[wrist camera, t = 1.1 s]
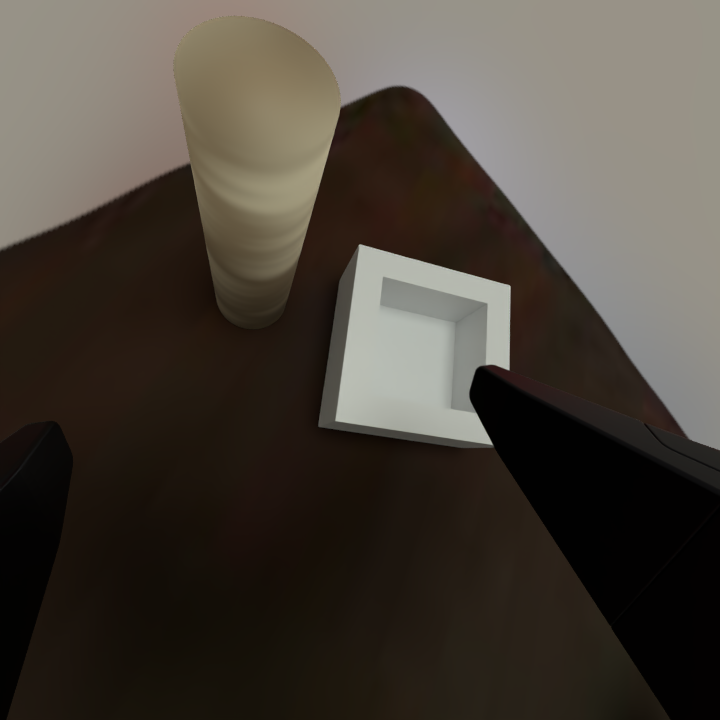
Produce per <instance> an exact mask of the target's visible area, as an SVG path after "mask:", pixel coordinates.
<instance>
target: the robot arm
mask: <svg viewBox="0 0 720 720" xmlns="http://www.w3.org/2000/svg"><path fill="white" fill-rule="evenodd" d="M469 399H470V402H471V404H472V406H473V408H474V409H475V411H476V413H477V415H478V417H479V419H480V421H481V423H482V425H483V427H484V429H485V431H486V433H487V435H488V436H489V438H490V440H491V442H492V444H493V446H494V448H495V449H496V451H497V453H498V454H499V456H500V458H501V459H502V461H503V462H504V464H505V465H506V467H507V468H508V470H509V471H510V473H511V474H512V476H513V478H514V479H515V481H516V482H517V484H518V485H519V487H520V488H521V490H522V491H523V493H524V494H525V496H526V498H527V499H528V501H529V502H530V504H531V505H532V507H533V508H534V510H535V511H536V513H537V514H538V516H539V517H540V519H541V521H542V522H543V524H544V525H545V527H546V528H547V530H548V531H549V533H550V534H551V536H552V537H553V539H554V541H555V542H556V544H557V545H558V547H559V548H560V550H561V551H562V553H563V554H564V556H565V557H566V559H567V560H568V562H569V564H570V565H571V567H572V568H573V570H574V571H575V573H576V574H577V576H578V577H579V579H580V580H581V582H582V583H583V585H584V587H585V588H586V590H587V591H588V593H589V594H590V596H591V597H592V599H593V600H594V602H595V603H596V605H597V607H598V608H599V610H600V611H601V613H602V614H603V616H604V617H605V619H606V620H607V622H608V623H609V625H610V626H611V628H612V630H613V632H614V633H615V635H616V636H617V638H618V639H619V641H620V642H621V644H622V645H623V647H624V648H625V650H626V652H627V653H628V655H629V656H630V658H631V659H632V661H633V662H634V664H635V665H636V667H637V668H638V670H639V672H640V673H641V675H642V676H643V678H644V679H645V681H646V682H647V684H648V685H649V687H650V688H651V690H652V692H653V693H654V695H655V696H656V698H657V699H658V701H659V702H660V704H661V705H662V707H663V708H664V710H665V712H666V713H667V715H668V716H669V718H670V719H671V720H720V450H717V449H714V448H711V447H709V446H706V445H703V444H700V443H697V442H694V441H692V440H689V439H686V438H683V437H681V436H678V435H675V434H673V433H670V432H667V431H665V430H662V429H659V428H657V427H654V426H652V425H649V424H647V423H642V422H641V421H639V420H636V419H633V418H631V417H628V416H626V415H623V414H620V413H618V412H615V411H613V410H610V409H608V408H605V407H602V406H600V405H597V404H595V403H592V402H589V401H587V400H584V399H582V398H579V397H576V396H574V395H571V394H569V393H566V392H564V391H561V390H558V389H556V388H553V387H551V386H548V385H545V384H543V383H540V382H538V381H535V380H532V379H530V378H527V377H525V376H522V375H519V374H517V373H514V372H512V371H509V370H507V369H504V368H501V367H499V366H496V365H492V364H491V365H483V366H479V367H478V368H477V369H476V370H475V373H474V376H473V380H472V383H471V387H470V390H469ZM72 467H73V456H72V452H71V450H70V448H69V445H68V443H67V441H66V439H65V436H64V434H63V432H62V430H61V428H60V426H59V424H58V423H57V422H54V421H46V422H38V423H31V424H27V425H25V426H23V427H22V428H20V429H19V430H17V431H16V432H15V433H13V434H12V435H10V436H9V437H7V438H6V439H5V440H3V441H2V442H0V720H6V719H7V716H8V712H9V709H10V706H11V703H12V699H13V696H14V693H15V689H16V686H17V683H18V679H19V676H20V673H21V670H22V666H23V663H24V660H25V656H26V653H27V650H28V646H29V643H30V640H31V636H32V633H33V630H34V627H35V623H36V620H37V617H38V613H39V610H40V607H41V603H42V600H43V597H44V594H45V590H46V587H47V584H48V580H49V577H50V574H51V570H52V567H53V564H54V560H55V557H56V554H57V550H58V546H59V543H60V538H61V533H62V527H63V521H64V515H65V509H66V503H67V497H68V491H69V485H70V479H71V473H72Z"/></svg>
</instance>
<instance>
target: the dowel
mask: <svg viewBox="0 0 720 720" xmlns="http://www.w3.org/2000/svg"><path fill="white" fill-rule="evenodd" d="M174 76H175V81H176V87H177V92H178V98H179V103H180V108H181V114H182V119H183V124H184V129H185V134H186V140H187V146H188V150H189V156H190V162H191V167H192V172H193V178H194V183H195V188H196V194H197V199H198V204H199V210H200V215H201V220H202V226H203V231H204V236H205V242H206V247H207V252H208V258H209V263H210V268H211V274H212V279H213V284H214V290H215V295H216V300H217V304H218V307H219V309H220V311H221V313H222V314H223V316H224V317H225V318H226V319H227V320H228V321H230V322H231V323H233V324H234V325H236V326H239V327H241V328H245V329H261V328H265V327H267V326H270V325H271V324H273V323H274V322H276V321H277V320H278V319H279V318H280V316H281V315H282V313H283V312H284V309H285V306H286V303H287V299H288V295H289V292H290V288H291V285H292V281H293V278H294V274H295V270H296V267H297V263H298V260H299V256H300V253H301V249H302V245H303V242H304V238H305V235H306V231H307V228H308V224H309V220H310V217H311V213H312V210H313V206H314V202H315V199H316V195H317V192H318V188H319V185H320V181H321V177H322V174H323V170H324V167H325V163H326V160H327V156H328V152H329V149H330V145H331V142H332V138H333V135H334V131H335V127H336V124H337V120H338V117H339V112H340V104H341V99H340V92H339V87H338V83H337V81H336V78H335V76H334V74H333V72H332V70H331V68H330V67H329V65H328V64H327V63H326V61H325V60H324V58H323V57H322V56H321V55H320V54H319V53H318V52H317V51H316V50H315V49H314V48H313V47H312V46H311V45H310V44H309V43H307V42H306V41H305V40H304V39H302V38H301V37H299V36H297V35H296V34H295V33H293V32H291V31H289V30H288V29H285V28H284V27H281V26H279V25H277V24H274V23H271V22H268V21H265V20H262V19H257V18H252V17H244V16H228V17H220V18H215V19H211V20H209V21H206V22H203V23H201V24H200V25H197V26H196V27H194V28H193V29H192V30H190V31H189V32H188V33H187V34H186V35H185V37H183V39H182V40H181V42H180V43H179V45H178V48H177V50H176V53H175V57H174Z"/></svg>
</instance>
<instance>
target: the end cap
mask: <svg viewBox="0 0 720 720" xmlns="http://www.w3.org/2000/svg"><path fill="white" fill-rule="evenodd" d="M509 350H510V286H509V285H505V284H502V283H498V282H494V281H491V280H487V279H483V278H480V277H476V276H473V275H469V274H465V273H462V272H458V271H454V270H451V269H447V268H443V267H440V266H436V265H433V264H429V263H425V262H422V261H418V260H414V259H411V258H407V257H403V256H400V255H396V254H393V253H389V252H385V251H382V250H378V249H374V248H371V247H367V246H363V245H360V244H359V246H358V248H357V250H356V252H355V253H354V255H353V257H352V259H351V261H350V262H349V264H348V266H347V268H346V270H345V271H344V273H343V275H342V277H341V279H340V281H339V288H338V295H337V302H336V308H335V315H334V322H333V329H332V335H331V342H330V349H329V356H328V362H327V369H326V376H325V383H324V389H323V396H322V403H321V410H320V416H319V423H318V427H322V428H329V429H336V430H343V431H350V432H357V433H363V434H370V435H377V436H384V437H391V438H397V439H404V440H411V441H418V442H425V443H432V444H438V445H445V446H452V447H459V448H494V446H493V444H492V442H491V440H490V438H489V436H488V435H487V433H486V431H485V429H484V427H483V425H482V423H481V421H480V419H479V417H478V415H477V413H476V411H475V409H474V408H473V406H472V404H471V402H470V399H469V390H470V387H471V383H472V380H473V376H474V373H475V370H476V369H477V368H478V367H479V366H483V365H491V364H492V365H496V366H499V367H501V368H504V369H507V370H509Z"/></svg>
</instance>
